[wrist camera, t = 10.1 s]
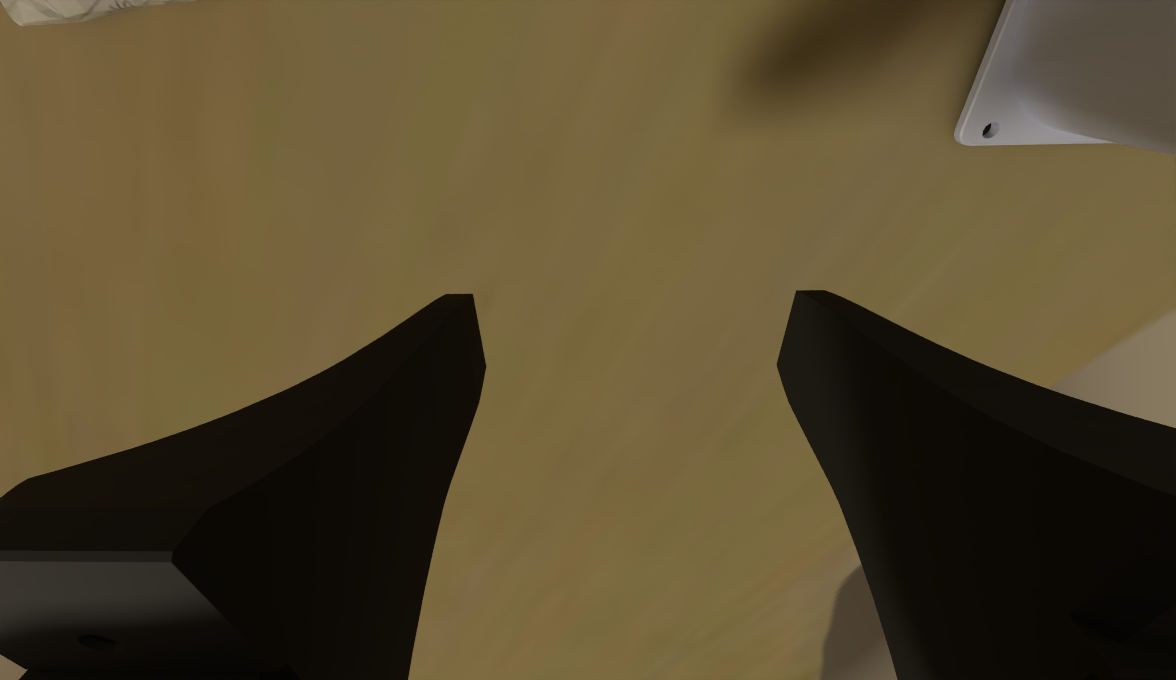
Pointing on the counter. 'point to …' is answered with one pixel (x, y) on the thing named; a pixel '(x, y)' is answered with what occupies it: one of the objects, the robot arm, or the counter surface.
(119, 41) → the counter surface
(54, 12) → the packaged product
